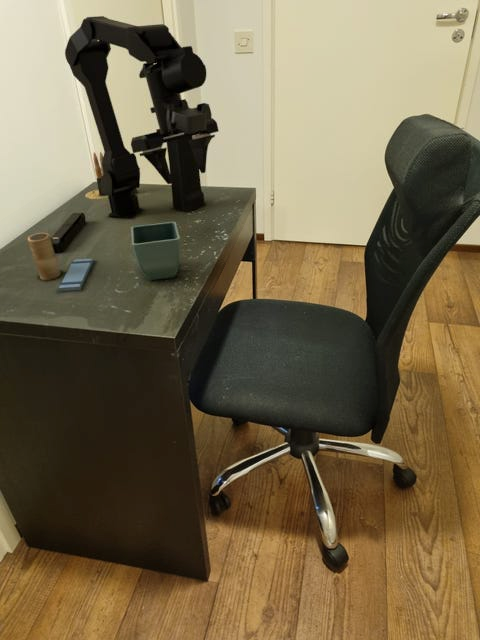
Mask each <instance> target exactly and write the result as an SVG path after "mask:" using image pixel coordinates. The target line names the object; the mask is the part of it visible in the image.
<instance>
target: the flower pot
mask: <svg viewBox="0 0 480 640" xmlns="http://www.w3.org/2000/svg"><path fill="white" fill-rule="evenodd" d="M130 231H131V246H132V250H133V253H134V256H135V259H136V262H137V266H138V268H139V269H140V271H141V273H142V274H143V275H144V277H146V278H147V280H149V281H154V280H155V281H156V280H161V279H162V280H163V279H169V278H175V276H176V274H177V272H178V271H179V267H180V263H181V237H180V233H179V230H178V226H177V222H176V221H167V222H159V223H151V224H142V225H141V224H140V225H134V226H131V227H130Z"/></svg>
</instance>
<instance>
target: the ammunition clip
mask: <svg viewBox="0 0 480 640" xmlns="http://www.w3.org/2000/svg"><path fill="white" fill-rule="evenodd" d="M92 154H93V155H92V158H93V165H94V173H95V176H96V177H95V178H96V184H97V189H98V195H99V196H100V197H102V196H103V197H106V196H107V197H108V195H107V194H104V193H102V191H101V189H100V186H99V184H100V181H101V179H102V177H103V174H104V172H103V168H102V161H103V157H104V154H103V153H102V152H101V151H100V152H99V159H98V156H97V154H96V152H93V153H92ZM137 192H138V188H135V194H136V195H137Z"/></svg>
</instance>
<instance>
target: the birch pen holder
mask: <svg viewBox="0 0 480 640" xmlns="http://www.w3.org/2000/svg"><path fill="white" fill-rule="evenodd" d="M27 241H28V245H29V248H30V251H31V254H32V257H33V261H34V263H35V267H36V269H37V272H38V275H39V278H40V280H42V281H50V280H55V279H57V278H58V277H60V275H61V270H60V266H59V263H58V260H57V256H56V252H54V249H53V246H52V243H51V236H50V234H49V233H48V232H37V233H34V234H32V235H30V236H28V237H27Z"/></svg>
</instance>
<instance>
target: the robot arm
mask: <svg viewBox="0 0 480 640" xmlns="http://www.w3.org/2000/svg"><path fill="white" fill-rule="evenodd" d="M111 45H113V46H116V47H120V48H123V49H125V50H127V52H128V55H130V56H131V57H132V58H134V59H136V60H137V61H138V62H142V63H143V62H144V63H143V64H142V68H141V70H140V72H139V73H138V74H139V75H138V77H139V79H145V80H146V84H147V87H148V91H149V94H150V99H151V101H152V102H151V103H152V105H153V106H152V107H150V108H149V110H150V112H151V114H155V118H156V121H157V124H158V128H157V129H155V130H156V131H154V132H151V133H146V134H142V135H137V136H135V137H134V136H133V137H131V142H130V148H131V150H132V152H130V151H129V150H128V149H127V148H126V147H125V143H124V141H123V137H122V133H121V131H120V127H119V123H118V119H117V116H116V113H115V109H114V106H113V103H112V100H111V96H110V91H109V90H108V85H107V77H108V73H109V63H108V57H109V55H110V52H111V50H112V47H111ZM193 49H194V48H193V46H192V45H187V46H181V45H180V43H179V42H178V41H177V40H176V38H175V37H174V36H173V35H172V33H171V32H170V28H169V27H168V26H167V25H165V24H164V23H158V24H146V25H134V24H130V23H127V22H123V21H119V20H115V19H112V18H108V17H107V16H104V15H100V16H86V17H85V18H83V19H82V22H81V24H80V26H79V28H78V29H77V30H75V32H74V33H72V34H71V35H70V36H69V38H68V40H67V44H66V47H65V50H64V56H65V60H66V62H67V63H68V65H69V68H70V71H71V72H72V75H73V77H75V78H76V80H77V81H78V82H79V83H80V84H81V85H82V86H83V87H84V90H85V93H86V97H87V100H88V104H89V106H90V109H91V113H92V115H93V120H94V122H95V125H96V129H97V132H98V135H99V139H100V141H101V145H102V149H103V150H104V152H103V161H102V168H103V172H104V174H103V177H102V179H101V181H100V184H99V186H100V189H101V191H102V193H104V194H107V198H108V201H109V202H108V203H109V207H110V210H111V212H110V213H109V214H108V217H109V218H120V219H132V218H133V217H135V216H136V215H137V214H138V213H139V212H140V211H142V207H140V202H139V197H138V195H137V193H136V194H135V188H136V189H139V188H140V187H141V186H140V183H141V168H140V166H139V164H138V160H137V156H136V154H135V153H139V157H144V158H145V159H146V160H147V161H148V162H149V163H150V164H151V165H152V167H154V169H155V170H156V172H158V174H159V175H160V177H162V179H163V180H164V181H165V182H166V184H167V185H171V183H172V181H171V175H170V167H169V163H168V161H167V157H166V155H167V151H168V150H167V147H163V145H164V144H167V142H170V141H173V140H177V139H181V138H185V137H189V136H190V137H192V140H189V143H190V146H191V149H192V151H193V154H194V157H195V159H196V162H197V165H198V167H199V173H201V174H205V173H206V171H207V170H206V168H207V160H208V159H207V156H208V148H209V145H210V142H211V141H212V139H214V138H215V137H216V134H214V133H217V132H219V131H220V130H219V126H218V122H217V121H216V120H215V118H213V117H212V115H213V114H212V109H211V107H210V104H209V103H206V102H202V103H198V104H197V105H196V107H193V108H192V107H189V104H188V101H187V99H186V98H185V99H184V98H182V95H181V94H183V93H185V92H189V91H192V90H195V89H198V88H200V87H202V86H203V85H204V84H205V82H206V79H207V67H206V64H205V63H204V62H203V60H202V58H201V57H200V56H199V55H198V54H196V53H195V52H194V50H193ZM178 131H182V133H178ZM171 133H172V134H173V135H171V136H169V134H171ZM178 135H179V136H178ZM174 136H175V137H174Z"/></svg>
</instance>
